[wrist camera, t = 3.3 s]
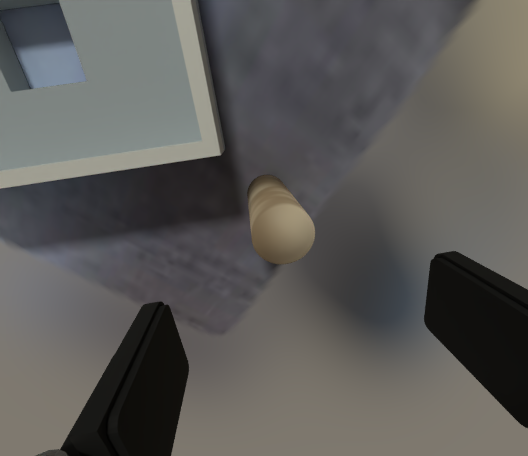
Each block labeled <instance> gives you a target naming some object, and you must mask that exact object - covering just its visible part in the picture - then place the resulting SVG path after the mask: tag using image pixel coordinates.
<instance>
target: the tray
mask: <svg viewBox="0 0 528 456" xmlns="http://www.w3.org/2000/svg"><path fill="white" fill-rule="evenodd" d="M53 3H60V5H61V8H62V11H63V14H64V17H65V20H66V22H67V25H68V28H69V31H70V34H71V37H72V40H73V42H74V45H75V48H76V51H77V54H78V57H79V59H80V62H81V65H82V68H83V71H84V74H85V77H86V79H87V81H85V82H78V83H71V84H64V85H57V86H50V87H43V88H36V89H30V87H29V85H28V82H27V80H26V78H25V75H24V73H23V71H22V68H21V66H20V64H19V61H18V59H17V57H16V54H15V52H14V50H13V47H12V45H11V43H10V40H9V38H8V36H7V33H6V31H5V29H4V26H3V24H2V22H1V20H0V189H1V188H8V187H14V186H21V185H27V184H34V183H41V182H47V181H54V180H61V179H67V178H74V177H80V176H87V175H94V174H100V173H107V172H113V171H120V170H127V169H133V168H140V167H146V166H153V165H160V164H166V163H173V162H179V161H186V160H193V159H199V158H206V157H212V156H219V155H221V154H222V153H223V152H224V151H225V144H224V138H223V133H222V128H221V122H220V117H219V112H218V106H217V101H216V96H215V90H214V85H213V80H212V74H211V69H210V64H209V58H208V53H207V47H206V42H205V37H204V31H203V26H202V21H201V15H200V10H199V5H198V0H0V10H7V9H15V8H22V7H30V6H37V5H45V4H53Z"/></svg>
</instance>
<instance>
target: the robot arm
mask: <svg viewBox="0 0 528 456" xmlns="http://www.w3.org/2000/svg"><path fill="white" fill-rule="evenodd" d="M424 321H425V325H426V327H427V328H428V329H429V330H430V331H431V333H433V335H434V336H435V337H436V338H437V339H438V340H439V341H440V342H441V343H442V344H443V345H444V346H445V347H446V348H447V349H448V350H449V351H450V352H451V353H452V354H453V355H454V356H455V357H456V358H457V359H458V360H459V361H460V362H461V363H462V364H463V365H464V366H465V367H466V369H467V370H468V371H469V372H470V373H471V374H472V375H473V376H474V377H475V378H476V379H477V380H478V381H479V382H480V383H481V384H482V385H483V386H484V387H485V388H486V389H487V390H488V391H489V392H490V393H491V394H492V395H493V396H494V397H495V399H497V401H498V402H499V403H500V404H501V405H502V406H503V407H504V408H505V409H506V410H507V411H508V412H509V413H510V414H511V415H512V416H513V417H514V418H515V419H516V420H517V421H518V422H519V423H520V424H521V425H523V426H524V427H526V428H528V290H527V289H525V288H523V287H522V286H520V285H518V284H516V283H514V282H512V281H510V280H509V279H507V278H505V277H503V276H501V275H499V274H497V273H496V272H494V271H492V270H490V269H488V268H486V267H484V266H482V265H480V264H479V263H477V262H475V261H473V260H471V259H470V258H468V257H466V256H464V255H462V254H460V253H458V252H456V251H452V252H446V253H440V254H437V255H435V257H434V259H432V260H431V263H430V271H429V280H428V289H427V297H426V306H425V315H424ZM188 372H189V364H188V360H187V357H186V354H185V351H184V348H183V345H182V342H181V339H180V336H179V333H178V330H177V328H176V324H175V321H174V318H173V315H172V312H171V309H170V307H169V305H164V303H163V302H155V303H149V304H144V305H143V306H142V307H141V309H140V311H139V313H138V314H137V316H136V318H135V320H134V321H133V323H132V325H131V327H130V329H129V330H128V332H127V334H126V336H125V337H124V339H123V341H122V343H121V345H120V346H119V348H118V350H117V352H116V353H115V355H114V356H113V358H112V359H111V361H110V363H109V365H108V366H107V368H106V370H105V372H104V373H103V375H102V377H101V379H100V380H99V382H98V384H97V386H96V387H95V389H94V391H93V393H92V394H91V396H90V398H89V400H88V401H87V403H86V405H85V407H84V408H83V410H82V412H81V414H80V416H79V418H78V419H77V421H76V423H75V424H74V426H73V428H72V430H71V431H70V433H69V435H68V437H67V438H66V440H65V442H64V444H63V446H62V447H61V449H60V450H59V449H58V450H48V451H46V452H43V453H41V454H38V455H36V456H171V452H172V448H173V443H174V439H175V434H176V429H177V424H178V420H179V415H180V411H181V406H182V401H183V396H184V392H185V387H186V382H187V378H188Z"/></svg>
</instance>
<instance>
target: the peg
mask: <svg viewBox="0 0 528 456" xmlns="http://www.w3.org/2000/svg"><path fill="white" fill-rule="evenodd" d="M247 196H248V205H249V215H250V225H251V235H252V243H253V246H254V249H255V250H256V252H257V253H258V255H259V256H260V257H262V258H263V259H264V260H266V261H268V262H271V263H274V264H288V263H292V262H295V261H297V260H299V259H300V258H302V257H303V256H304V255H305V254H307V252H308V251H309V250H310V248H311V247H312V245H313V242H314V238H315V228H314V224H313V222H312V220H311V218H310V217H309V216H308V214H307V213H306V212H305V211H304V209H303V208H302V207H301V205H300V204H299V203H298V202H297V200H296V199H295V198H294V197H293V195H292V194H291V193H290V192H289V190H288V189H287V188H286V186H285V185H284V184H283V183H282V181H281V180H280V179H278V178H277V177H275V176H272V175H262V176H259V177H257V178H256V179H254V180H253V181H252V182H251V184H250V186H249V188H248V192H247Z"/></svg>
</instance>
